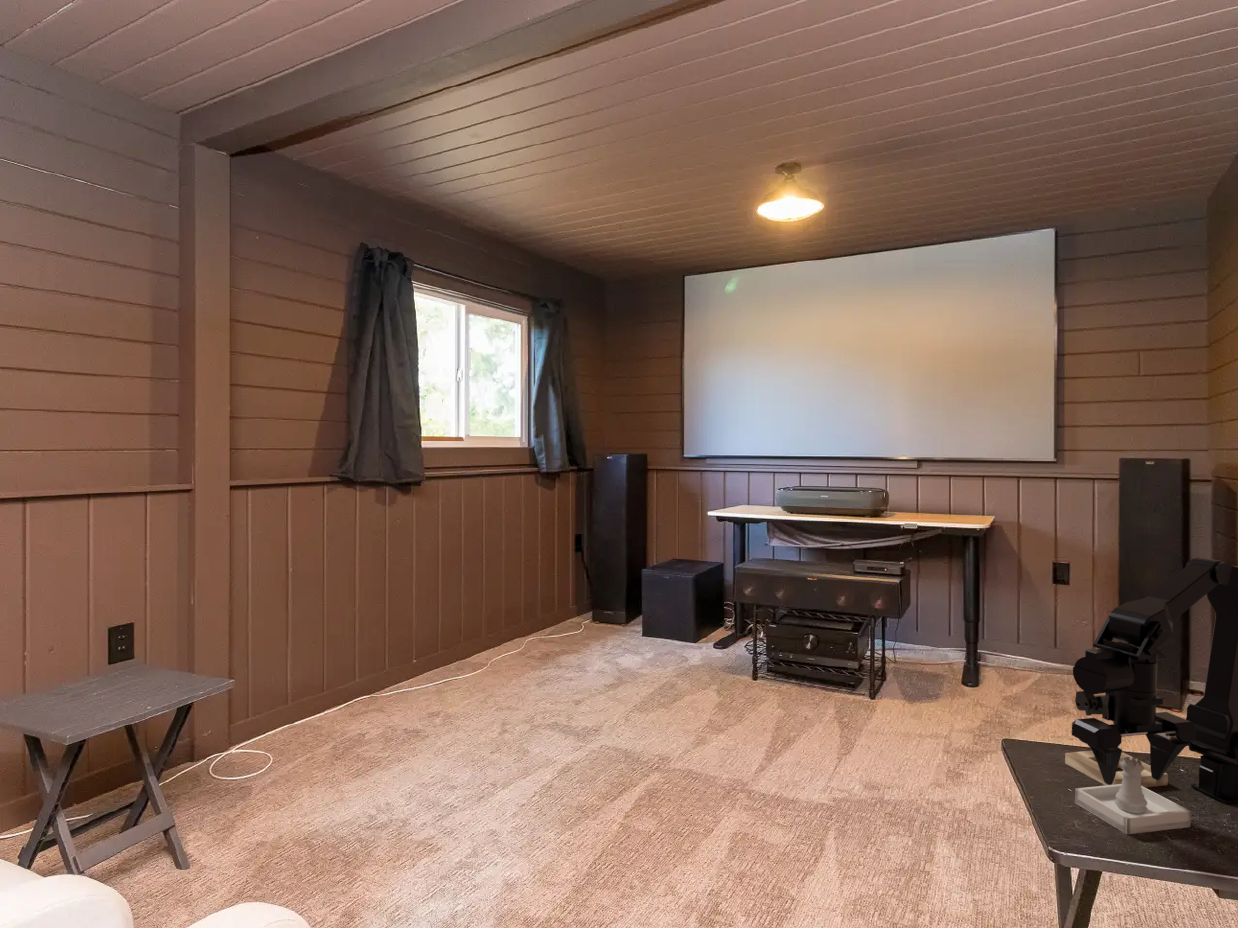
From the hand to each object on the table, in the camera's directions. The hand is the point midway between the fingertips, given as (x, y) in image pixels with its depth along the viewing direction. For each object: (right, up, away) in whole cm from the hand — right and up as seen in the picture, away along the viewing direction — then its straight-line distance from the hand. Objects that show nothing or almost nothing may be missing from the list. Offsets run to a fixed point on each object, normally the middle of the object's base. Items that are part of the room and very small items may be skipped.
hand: (1131, 781), depth 120 cm
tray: (0, -6, 0) cm, 6 cm away
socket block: (+7, -5, +15) cm, 17 cm away
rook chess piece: (0, -5, 0) cm, 5 cm away
